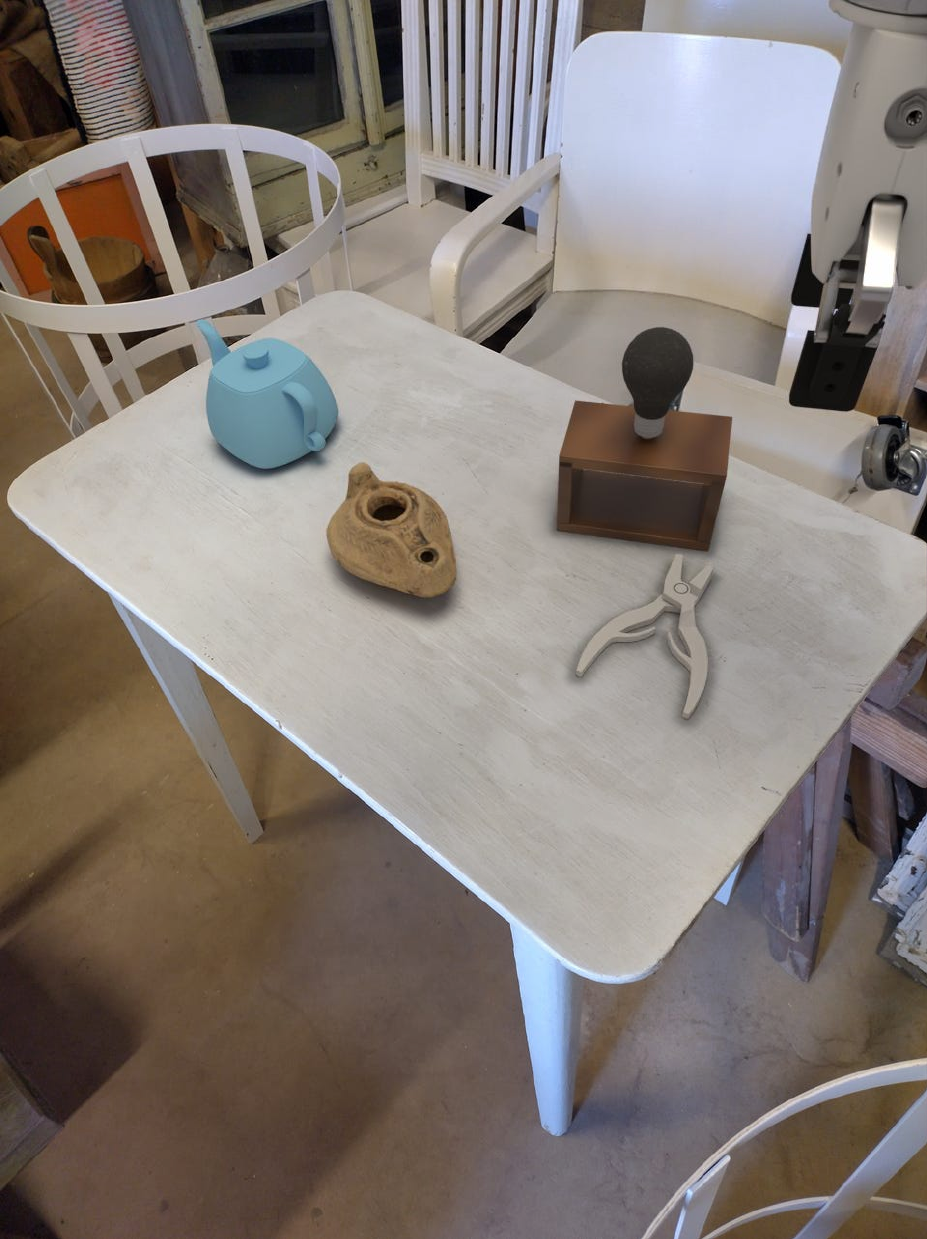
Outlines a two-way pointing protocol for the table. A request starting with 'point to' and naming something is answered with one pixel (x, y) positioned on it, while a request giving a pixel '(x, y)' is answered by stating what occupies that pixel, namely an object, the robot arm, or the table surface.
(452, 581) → the oil lamp
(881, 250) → the robot arm
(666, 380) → the light bulb
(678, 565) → the pliers
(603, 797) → the table surface
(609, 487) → the shelf
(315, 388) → the teapot
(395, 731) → the table surface
